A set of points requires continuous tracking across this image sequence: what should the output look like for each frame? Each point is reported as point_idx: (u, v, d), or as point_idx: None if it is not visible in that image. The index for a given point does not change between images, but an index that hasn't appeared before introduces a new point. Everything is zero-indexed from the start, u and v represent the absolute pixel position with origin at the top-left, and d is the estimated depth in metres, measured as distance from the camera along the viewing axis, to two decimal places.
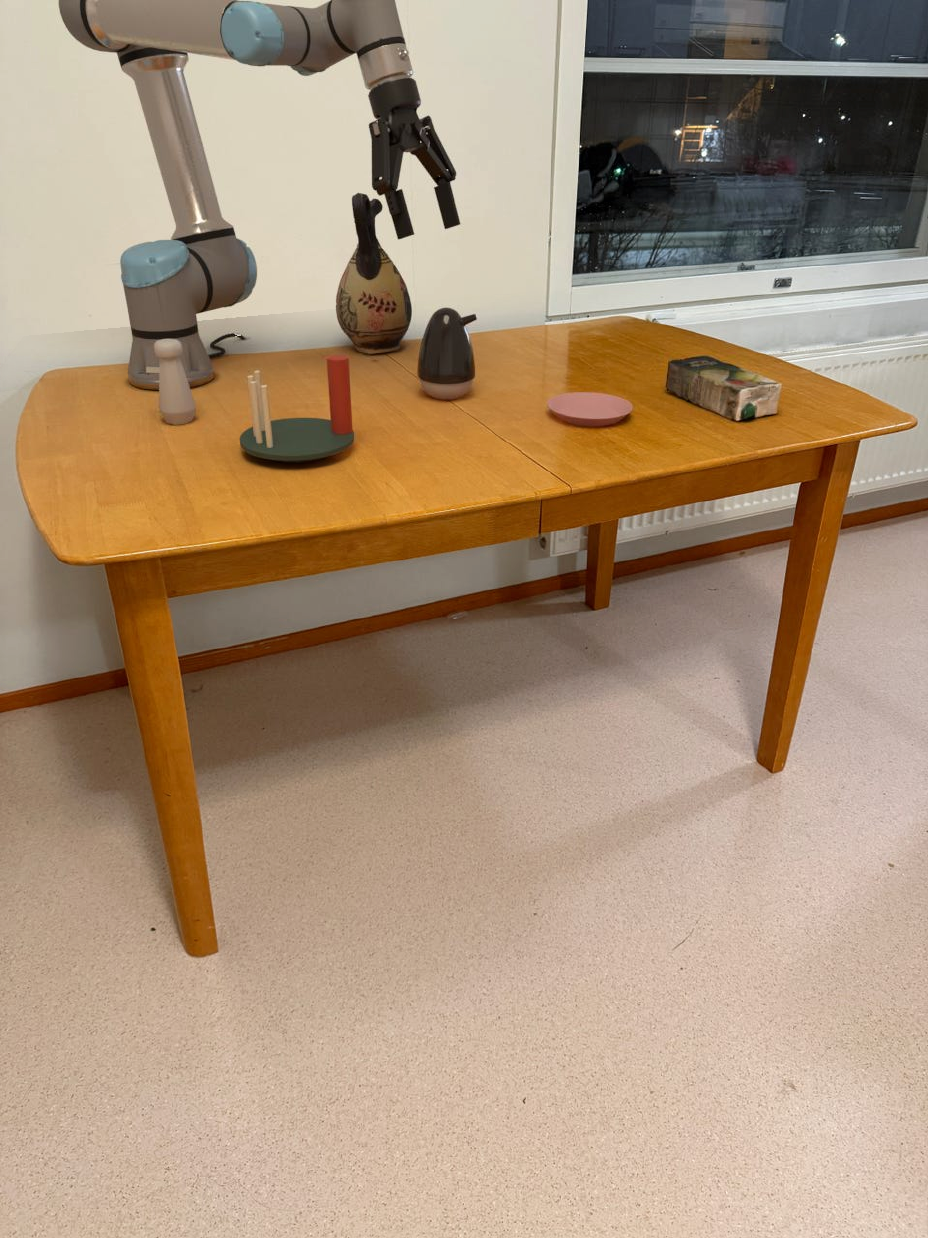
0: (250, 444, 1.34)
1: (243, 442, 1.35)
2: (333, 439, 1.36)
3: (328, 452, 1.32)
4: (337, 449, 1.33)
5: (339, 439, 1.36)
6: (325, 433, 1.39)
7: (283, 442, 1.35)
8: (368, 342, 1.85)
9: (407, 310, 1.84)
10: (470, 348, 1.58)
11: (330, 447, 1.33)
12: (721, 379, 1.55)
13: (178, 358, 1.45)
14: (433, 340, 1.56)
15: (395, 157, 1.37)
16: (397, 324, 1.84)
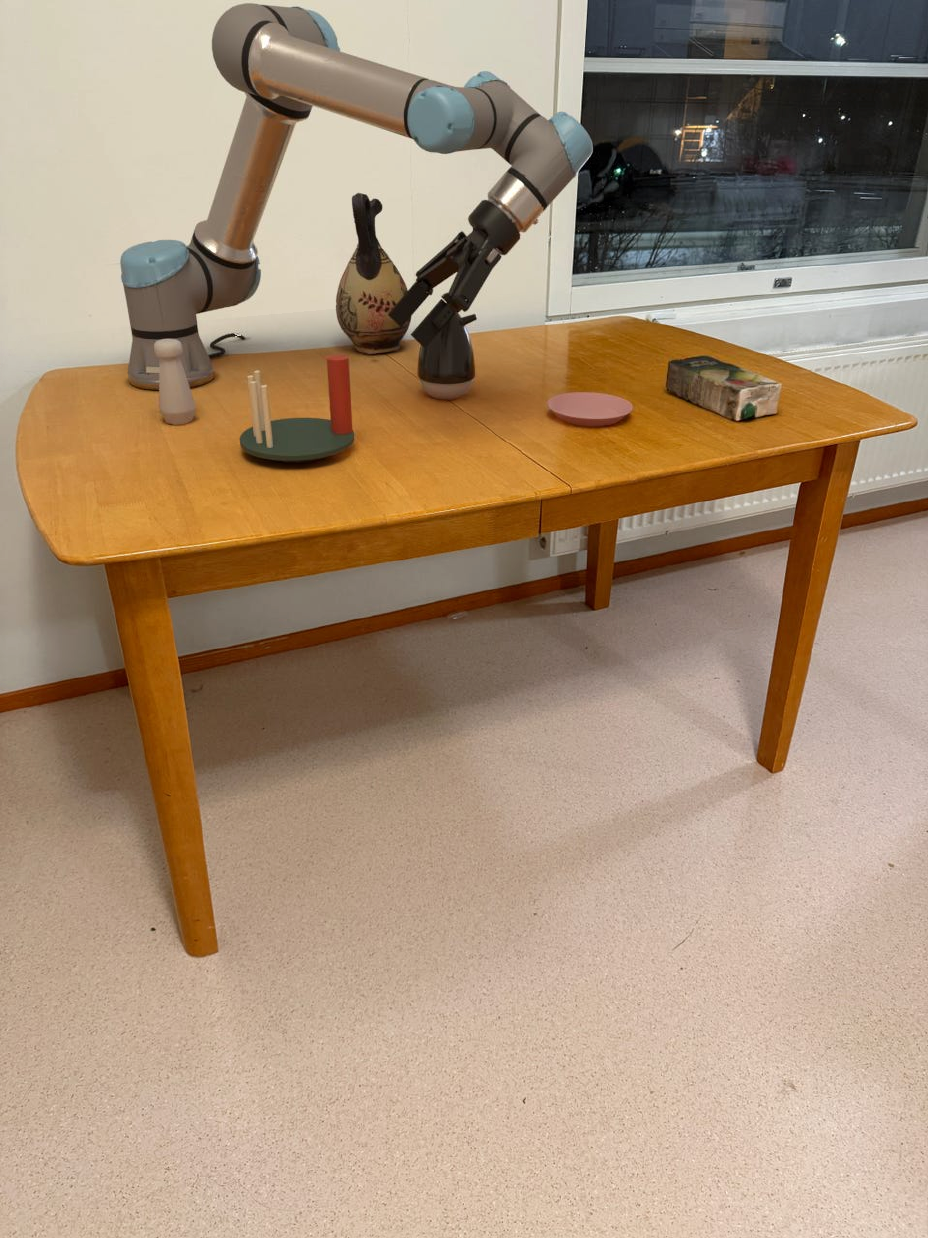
0: (250, 444, 1.34)
1: (243, 442, 1.35)
2: (333, 439, 1.36)
3: (328, 452, 1.32)
4: (337, 449, 1.33)
5: (339, 439, 1.36)
6: (325, 433, 1.39)
7: (283, 442, 1.35)
8: (368, 342, 1.85)
9: None
10: (470, 348, 1.58)
11: (330, 447, 1.33)
12: (721, 379, 1.55)
13: (178, 358, 1.45)
14: (433, 340, 1.56)
15: None
16: (397, 324, 1.84)
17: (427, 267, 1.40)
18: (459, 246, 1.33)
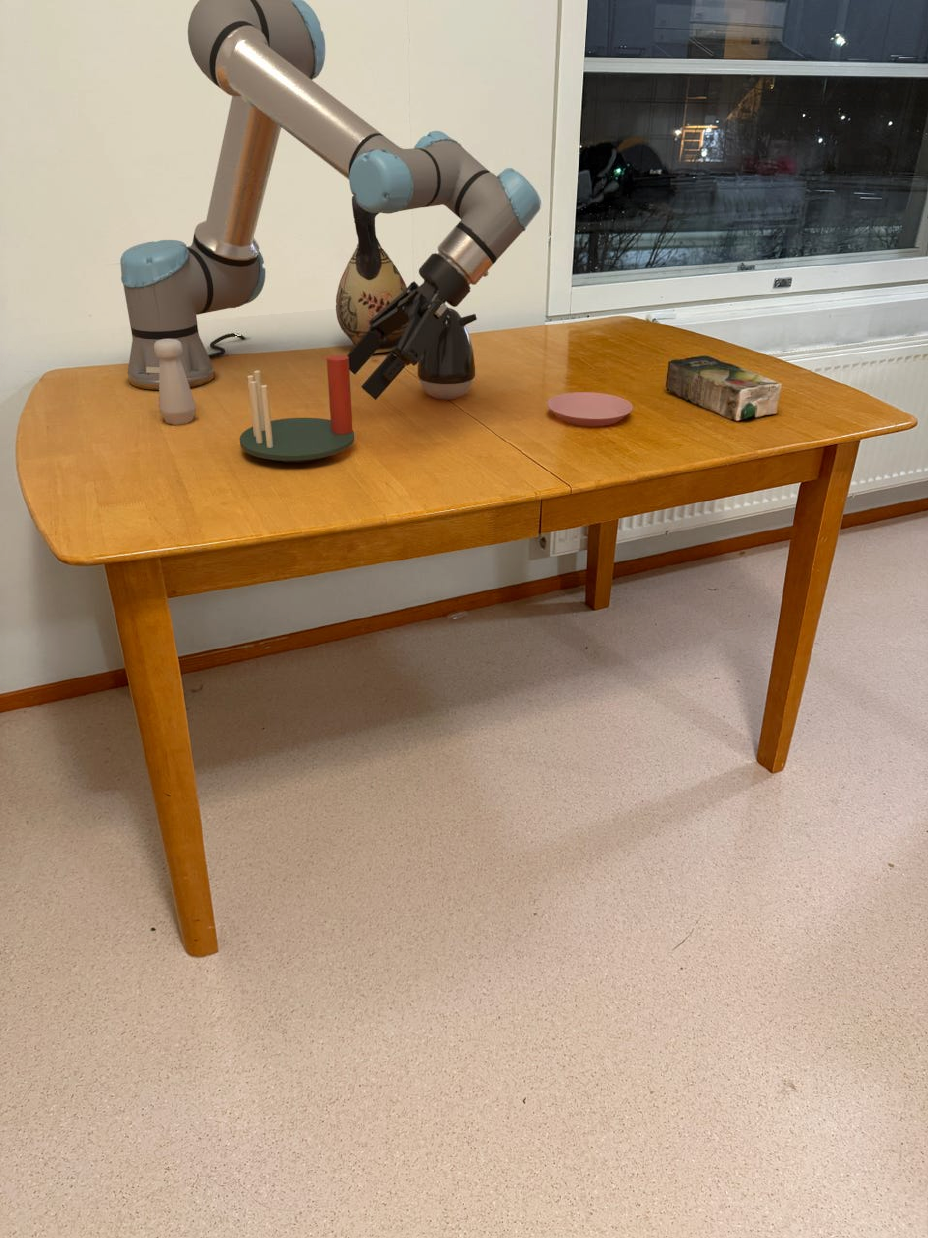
0: (250, 444, 1.34)
1: (243, 442, 1.35)
2: (333, 439, 1.36)
3: (328, 452, 1.32)
4: (337, 449, 1.33)
5: (339, 439, 1.36)
6: (325, 433, 1.39)
7: (283, 442, 1.35)
8: None
9: None
10: (470, 348, 1.58)
11: (330, 447, 1.33)
12: (721, 379, 1.55)
13: (178, 358, 1.45)
14: (433, 340, 1.56)
15: None
16: None
17: (380, 316, 1.41)
18: (410, 298, 1.34)
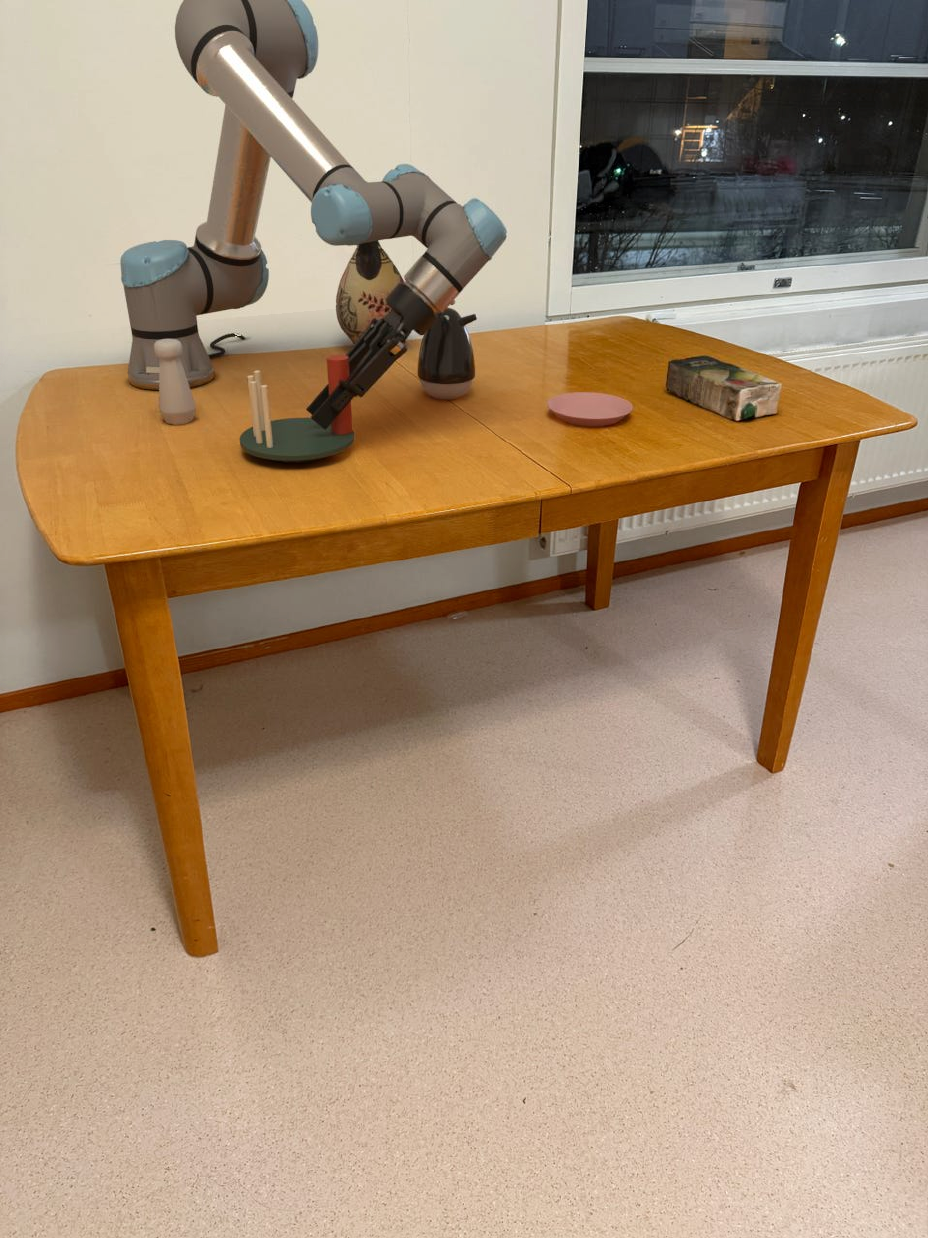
0: (250, 444, 1.34)
1: (243, 442, 1.35)
2: (333, 439, 1.36)
3: (328, 452, 1.32)
4: (337, 449, 1.33)
5: (339, 439, 1.36)
6: (325, 433, 1.39)
7: (283, 442, 1.35)
8: None
9: None
10: (470, 348, 1.58)
11: (330, 447, 1.33)
12: (721, 379, 1.55)
13: (178, 358, 1.45)
14: (433, 340, 1.56)
15: None
16: None
17: None
18: (378, 326, 1.34)
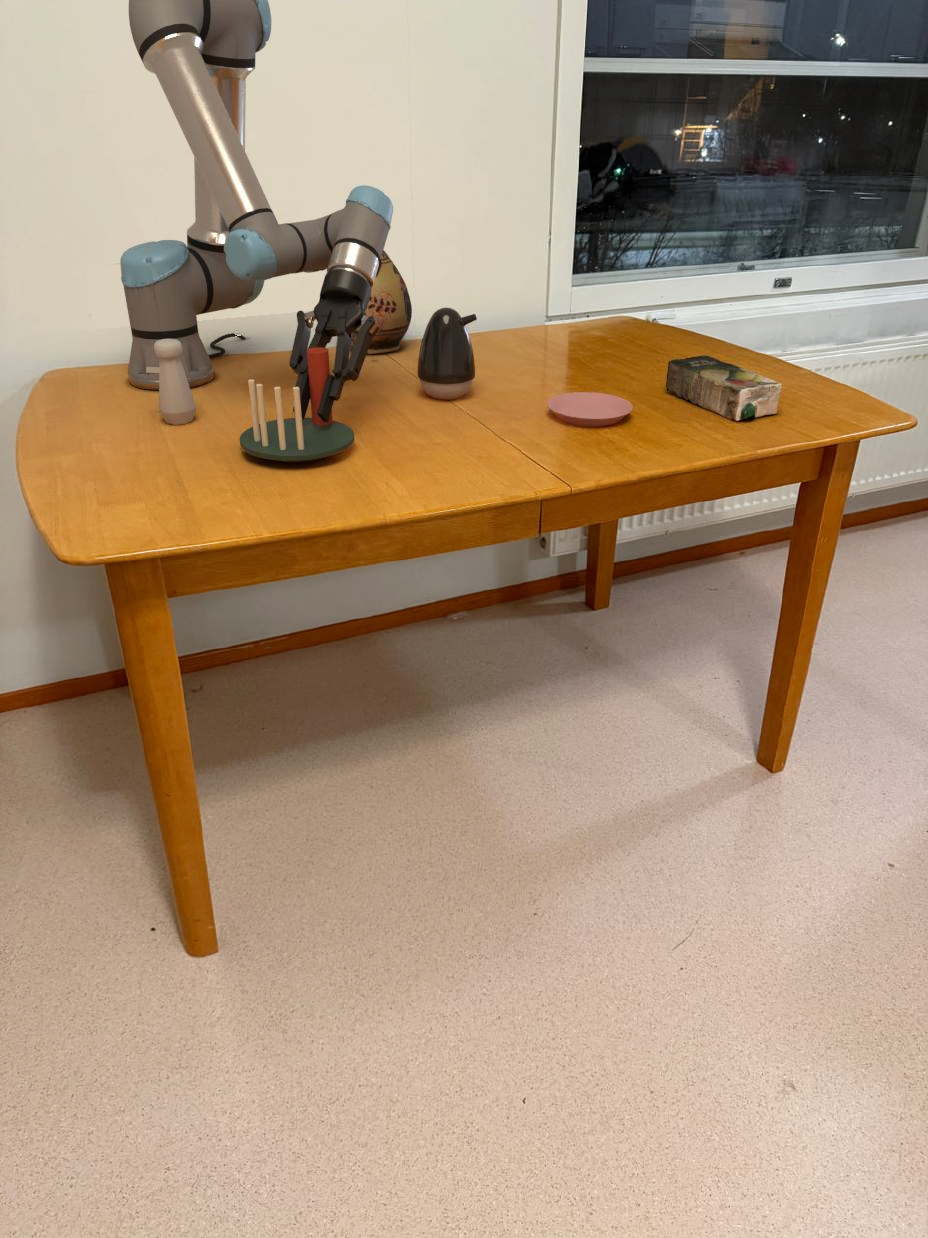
0: (279, 452, 1.31)
1: (268, 452, 1.31)
2: (333, 429, 1.40)
3: (353, 438, 1.37)
4: None
5: (337, 428, 1.41)
6: (314, 427, 1.41)
7: None
8: None
9: (407, 310, 1.84)
10: (470, 348, 1.58)
11: (348, 435, 1.38)
12: (721, 379, 1.55)
13: (178, 358, 1.45)
14: (433, 340, 1.56)
15: (348, 352, 1.41)
16: (397, 324, 1.84)
17: (299, 353, 1.41)
18: (329, 314, 1.41)
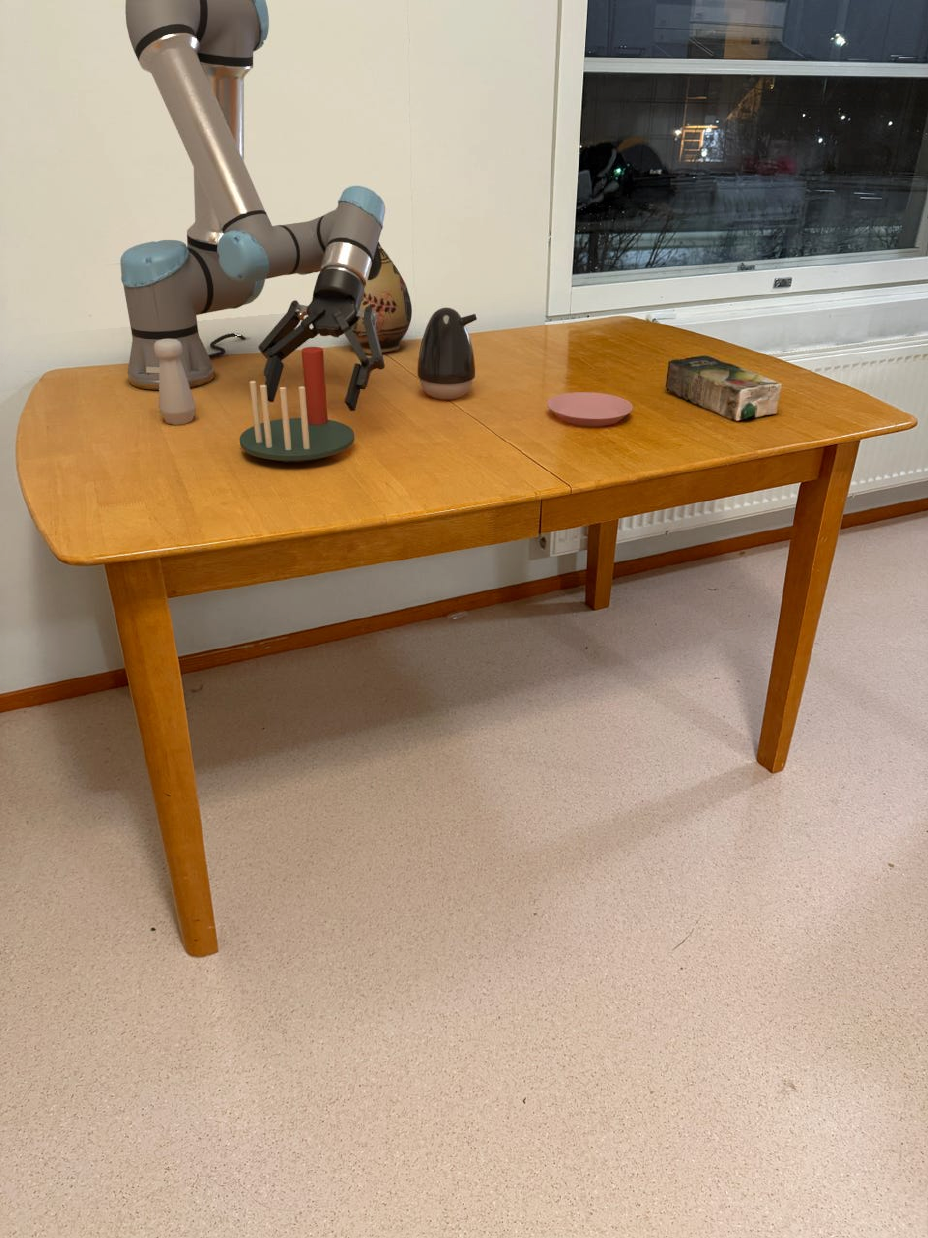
0: (286, 452, 1.31)
1: (275, 453, 1.31)
2: (331, 428, 1.41)
3: None
4: None
5: (335, 426, 1.42)
6: (311, 426, 1.41)
7: None
8: (368, 342, 1.85)
9: (407, 310, 1.84)
10: (470, 348, 1.58)
11: (348, 432, 1.39)
12: (721, 379, 1.55)
13: (178, 358, 1.45)
14: (433, 340, 1.56)
15: None
16: (397, 324, 1.84)
17: (272, 340, 1.43)
18: (320, 314, 1.41)
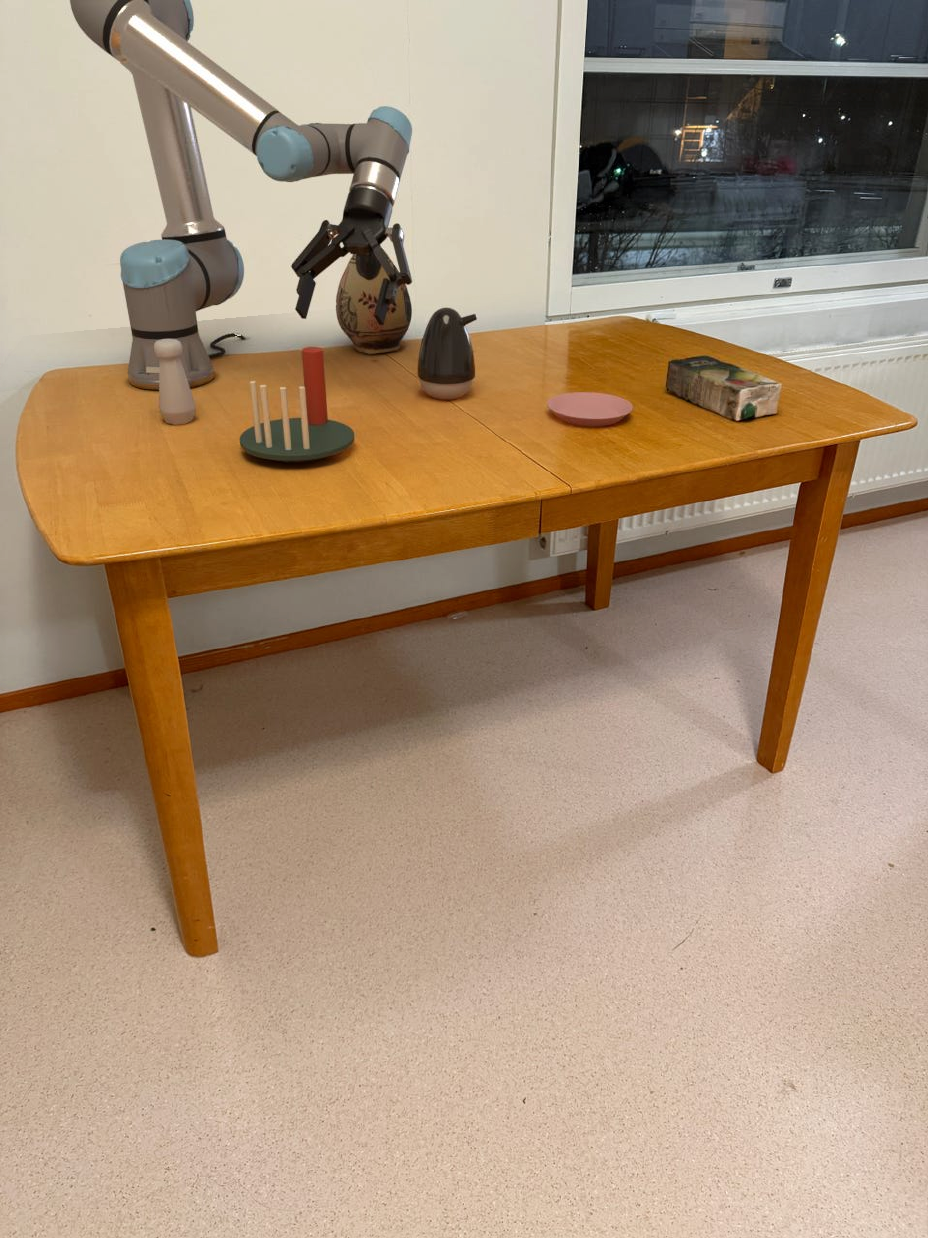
0: (286, 452, 1.31)
1: (275, 453, 1.31)
2: (331, 428, 1.41)
3: None
4: None
5: (335, 426, 1.42)
6: (311, 426, 1.41)
7: None
8: (368, 342, 1.85)
9: (407, 310, 1.84)
10: (470, 348, 1.58)
11: (348, 432, 1.39)
12: (721, 379, 1.55)
13: (178, 358, 1.45)
14: (433, 340, 1.56)
15: None
16: (397, 324, 1.84)
17: (304, 258, 1.48)
18: (350, 232, 1.47)
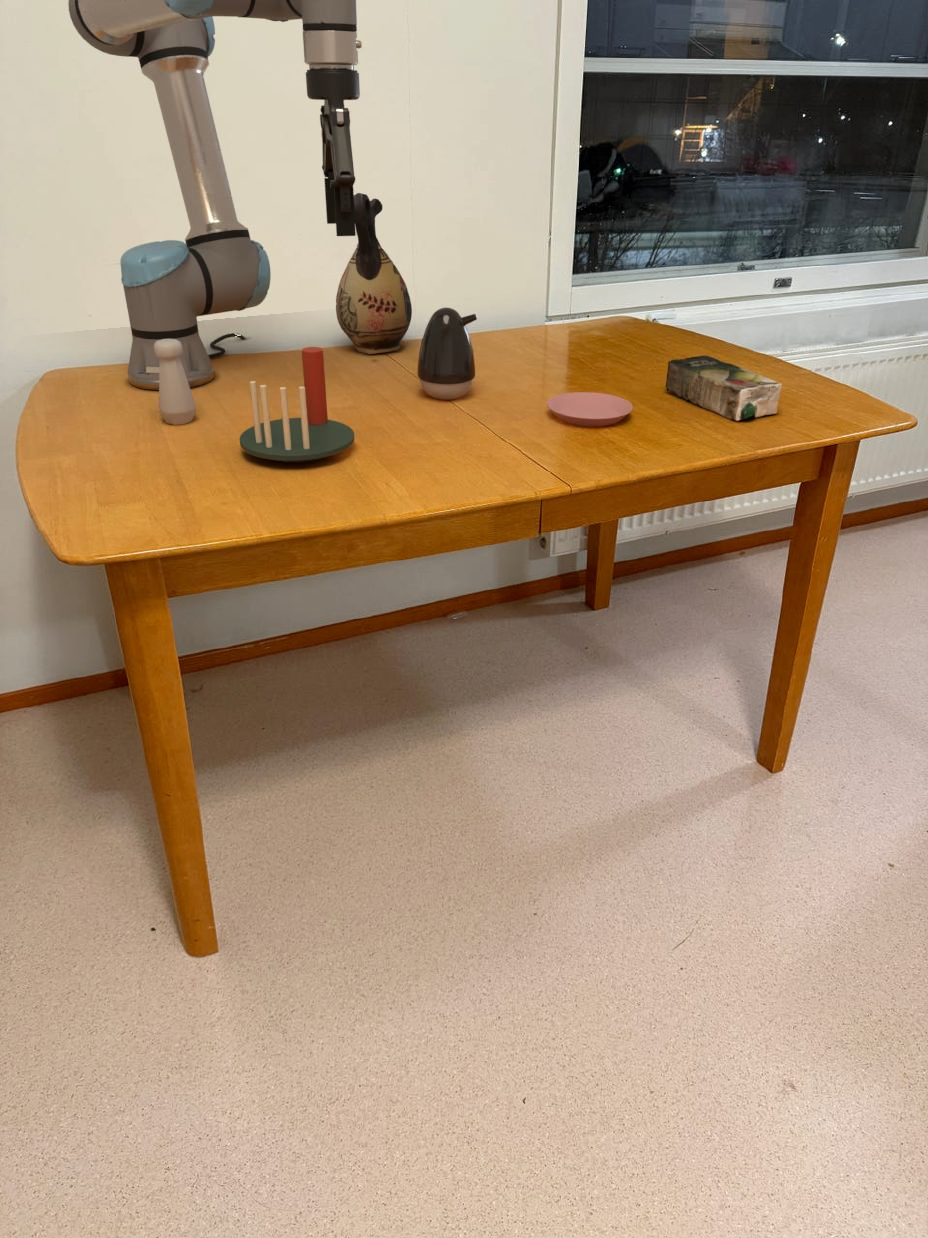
0: (286, 452, 1.31)
1: (275, 453, 1.31)
2: (331, 428, 1.41)
3: None
4: None
5: (335, 426, 1.42)
6: (311, 426, 1.41)
7: None
8: (368, 342, 1.85)
9: (407, 310, 1.84)
10: (470, 348, 1.58)
11: (348, 432, 1.39)
12: (721, 379, 1.55)
13: (178, 358, 1.45)
14: (433, 340, 1.56)
15: None
16: (397, 324, 1.84)
17: (324, 157, 1.43)
18: (322, 125, 1.34)
